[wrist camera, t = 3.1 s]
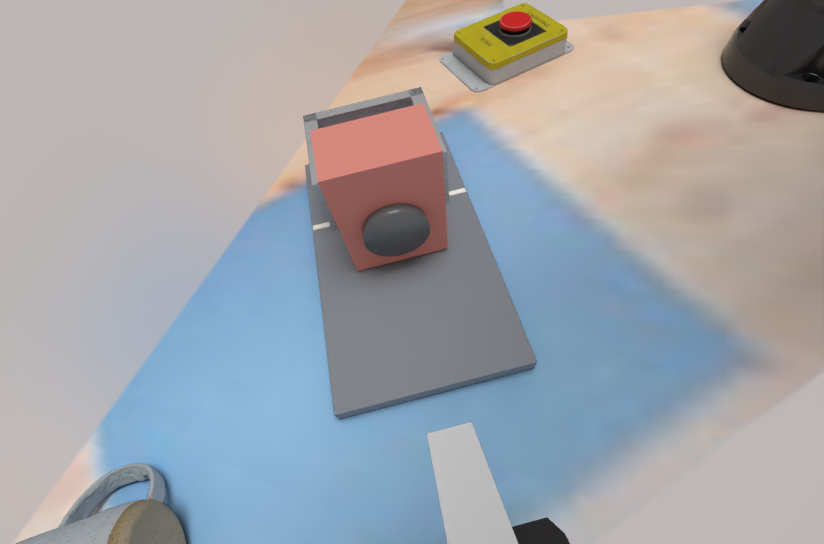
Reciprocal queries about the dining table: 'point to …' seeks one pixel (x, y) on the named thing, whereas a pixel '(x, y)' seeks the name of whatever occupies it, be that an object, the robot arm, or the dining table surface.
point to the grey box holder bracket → (362, 111)
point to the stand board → (416, 314)
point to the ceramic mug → (118, 514)
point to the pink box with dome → (384, 185)
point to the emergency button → (505, 47)
